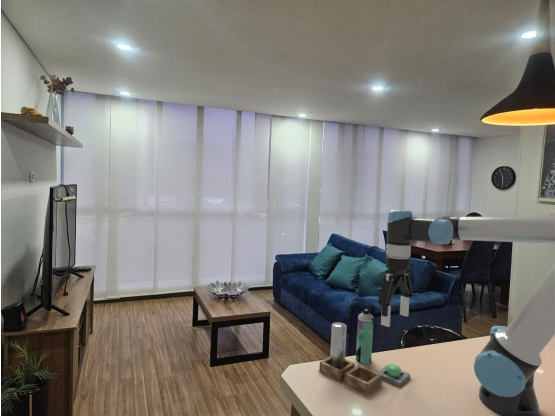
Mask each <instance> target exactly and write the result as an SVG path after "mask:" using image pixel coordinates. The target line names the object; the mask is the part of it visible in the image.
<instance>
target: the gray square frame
mask: <svg viewBox="0 0 555 416" xmlns="http://www.w3.org/2000/svg"><path fill="white" fill-rule="evenodd" d="M377 373H379V374H381V375H382V381H385V382H387V383H389V384H392V385H394V386H396V387H398V388H400V387H402V385H404V384H405V383H406V382H407V381H409V379H410V378H411V373H410V372H407V371H403V370H402V369H401V375H400V378H399V379H395V378H393V377H391V376H388V375H386V374H387V365H386V366H384V367H383V368H382V369H380V370H379V371H377Z"/></svg>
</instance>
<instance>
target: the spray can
mask: <svg viewBox="0 0 555 416" xmlns="http://www.w3.org/2000/svg"><path fill="white" fill-rule="evenodd" d="M374 319H375V318H374V316H373V315H372V314H371V313H370V310H369V309H368V308H364V309H363V311H362V312H361V313H359V314H358V317H357V332H356V333H357V334H356V347H355V348H356V349H355V350H356V352H355V360H356V362H357V363H360V364H364V365H366V364H367V365H368V364H371V362H372V356H373V355H372V353H373V336H374V334H373V333H374Z"/></svg>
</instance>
